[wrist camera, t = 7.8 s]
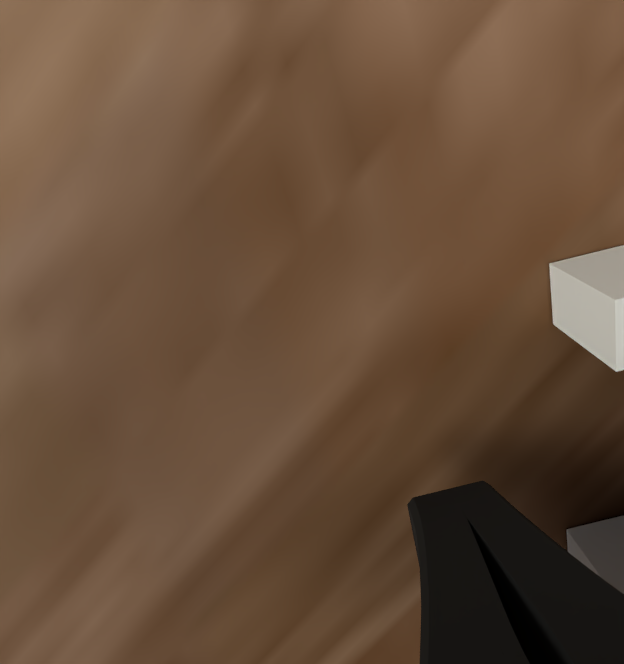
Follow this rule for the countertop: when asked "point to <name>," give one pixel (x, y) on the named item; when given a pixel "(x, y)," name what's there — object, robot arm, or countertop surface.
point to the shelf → (614, 350)
